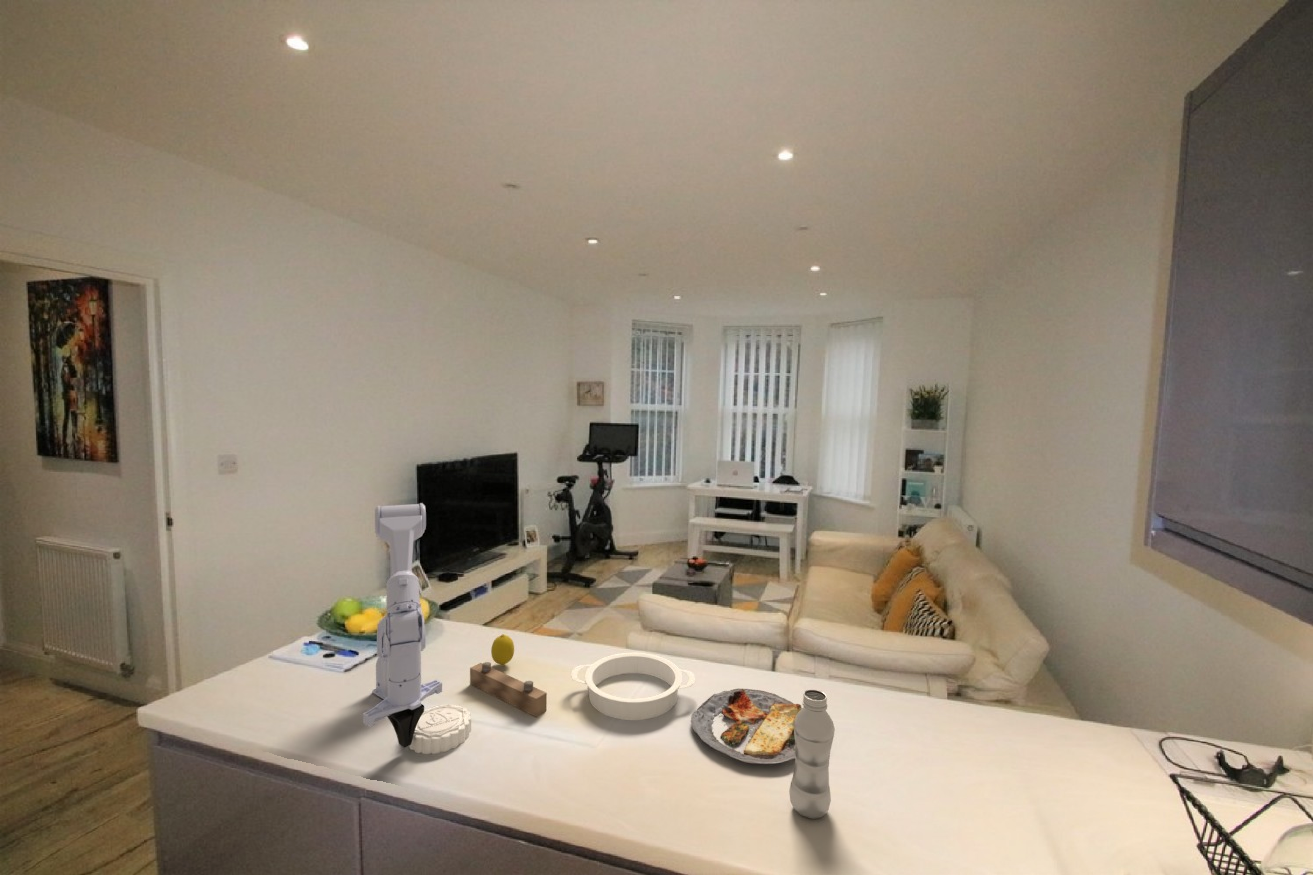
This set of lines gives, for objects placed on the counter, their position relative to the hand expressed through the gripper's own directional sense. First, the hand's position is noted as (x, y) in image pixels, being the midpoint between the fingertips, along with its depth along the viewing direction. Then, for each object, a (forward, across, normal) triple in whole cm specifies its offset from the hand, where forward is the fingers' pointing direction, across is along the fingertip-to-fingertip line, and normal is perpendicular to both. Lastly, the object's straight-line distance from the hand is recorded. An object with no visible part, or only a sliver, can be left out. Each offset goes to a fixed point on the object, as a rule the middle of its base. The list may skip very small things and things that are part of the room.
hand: (405, 744), depth 103 cm
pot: (+2, +42, -22) cm, 48 cm away
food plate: (+2, +46, -50) cm, 68 cm away
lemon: (+2, +33, +12) cm, 35 cm away
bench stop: (+2, +24, 0) cm, 24 cm away
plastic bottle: (+2, +32, -67) cm, 74 cm away
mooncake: (+2, +7, 0) cm, 8 cm away
